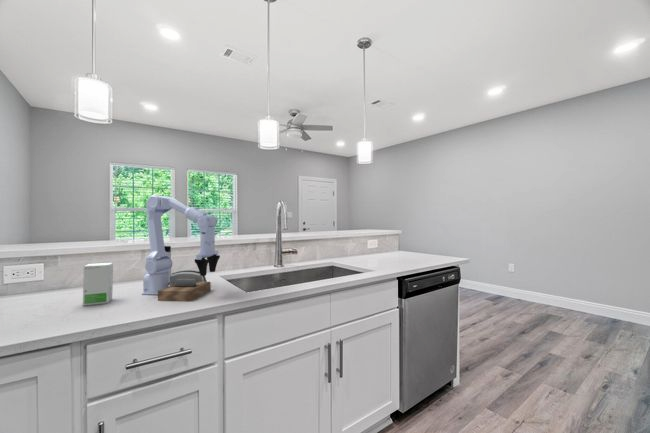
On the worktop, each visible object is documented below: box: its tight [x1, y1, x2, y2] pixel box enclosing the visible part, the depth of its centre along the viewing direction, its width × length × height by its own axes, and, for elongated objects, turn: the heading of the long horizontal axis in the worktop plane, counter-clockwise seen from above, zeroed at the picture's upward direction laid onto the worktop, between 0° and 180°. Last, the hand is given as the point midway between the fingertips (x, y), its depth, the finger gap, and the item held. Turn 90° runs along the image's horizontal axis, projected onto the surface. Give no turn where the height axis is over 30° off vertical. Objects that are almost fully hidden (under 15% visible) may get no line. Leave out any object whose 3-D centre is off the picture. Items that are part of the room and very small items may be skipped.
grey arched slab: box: [169, 269, 208, 286], centre depth 131 cm, size 17×5×10 cm, turn 95°
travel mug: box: [157, 245, 172, 285], centre depth 137 cm, size 6×7×20 cm
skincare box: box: [82, 262, 114, 307], centre depth 109 cm, size 8×7×16 cm
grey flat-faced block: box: [176, 279, 196, 287], centre depth 118 cm, size 8×2×7 cm, turn 84°
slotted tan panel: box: [157, 281, 212, 302], centre depth 118 cm, size 14×16×4 cm
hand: (207, 273), depth 117 cm, fingers open, 7 cm apart
